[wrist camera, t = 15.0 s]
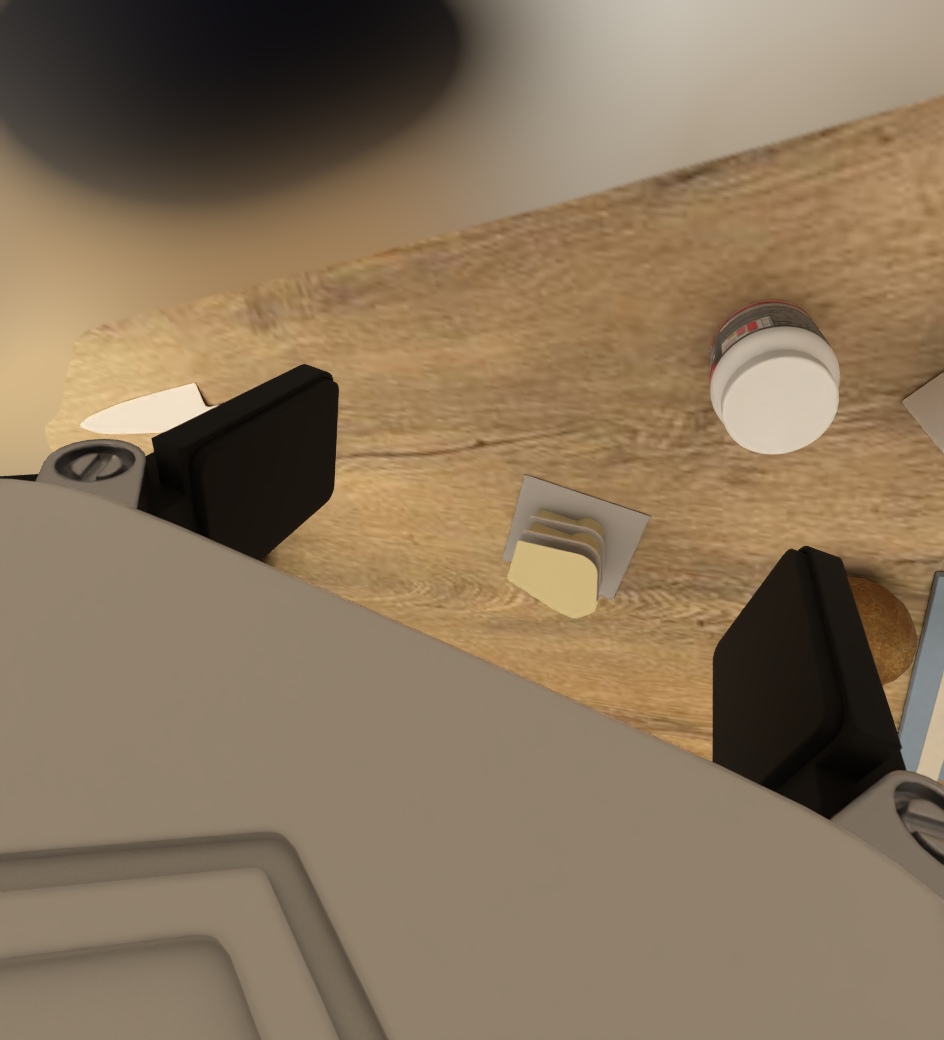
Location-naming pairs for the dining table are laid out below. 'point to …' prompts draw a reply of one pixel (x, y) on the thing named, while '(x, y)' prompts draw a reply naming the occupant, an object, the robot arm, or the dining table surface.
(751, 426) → the pill bottle
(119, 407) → the knife
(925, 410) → the milk carton
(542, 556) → the stacked layers on plate
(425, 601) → the dining table surface
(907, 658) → the fruit
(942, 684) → the towel
